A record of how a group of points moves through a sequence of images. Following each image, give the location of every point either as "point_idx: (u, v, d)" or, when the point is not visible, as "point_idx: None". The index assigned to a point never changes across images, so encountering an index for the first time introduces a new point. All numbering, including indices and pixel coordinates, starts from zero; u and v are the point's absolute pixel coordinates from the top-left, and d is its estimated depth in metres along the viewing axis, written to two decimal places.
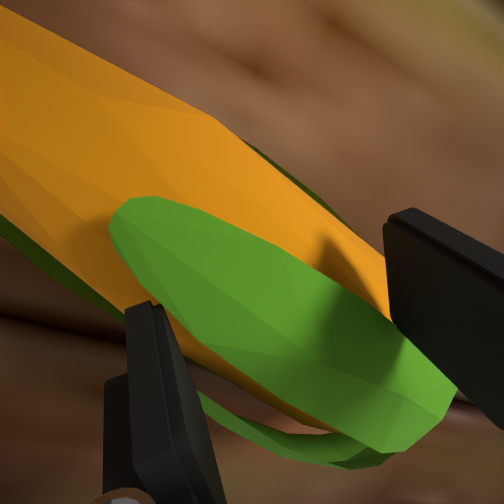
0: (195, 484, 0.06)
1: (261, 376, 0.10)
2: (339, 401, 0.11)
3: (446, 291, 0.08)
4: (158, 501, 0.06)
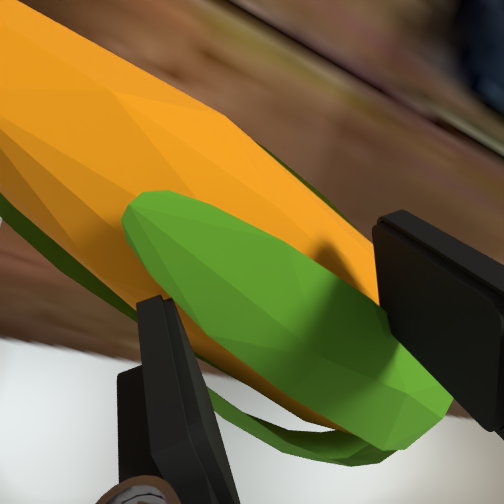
0: (210, 473, 0.06)
1: (266, 370, 0.10)
2: (342, 397, 0.11)
3: (433, 293, 0.08)
4: (174, 489, 0.06)
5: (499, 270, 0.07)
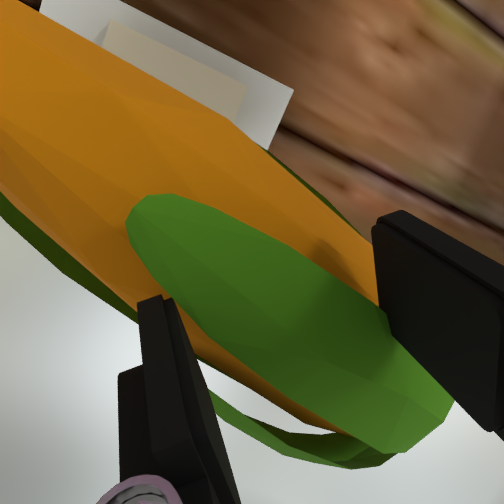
0: (211, 472, 0.06)
1: (268, 373, 0.10)
2: (343, 400, 0.11)
3: (432, 293, 0.08)
4: (175, 489, 0.06)
5: (498, 270, 0.07)
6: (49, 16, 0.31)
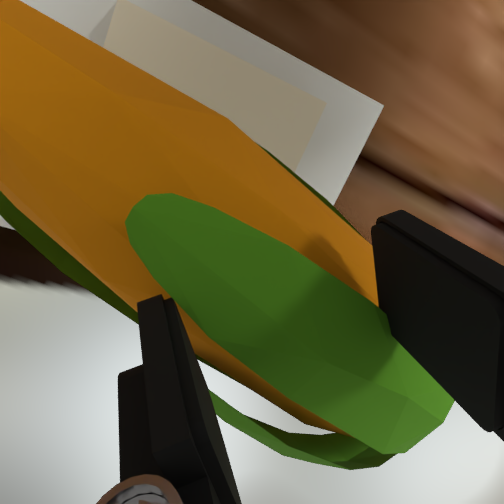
0: (211, 472, 0.06)
1: (268, 373, 0.10)
2: (343, 401, 0.11)
3: (432, 294, 0.08)
4: (176, 488, 0.06)
5: (498, 270, 0.07)
6: None
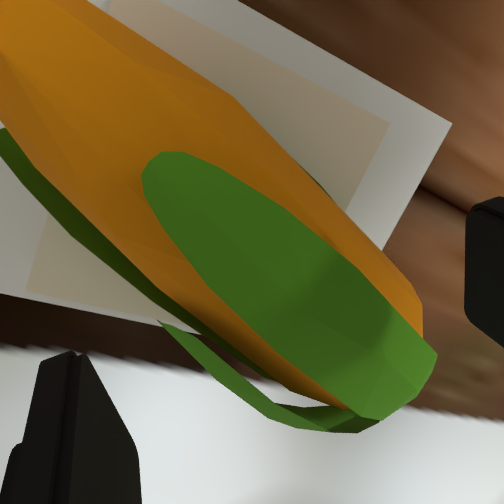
0: None
1: (260, 326, 0.11)
2: (327, 358, 0.12)
3: None
4: None
5: None
6: None
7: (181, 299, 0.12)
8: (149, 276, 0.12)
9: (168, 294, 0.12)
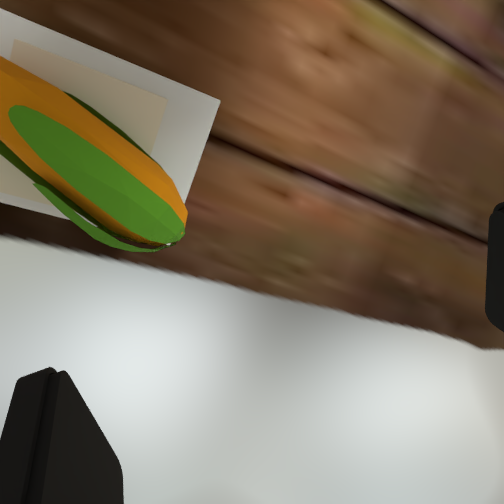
0: None
1: (65, 176, 0.28)
2: (100, 194, 0.28)
3: None
4: None
5: None
6: None
7: (42, 174, 0.29)
8: (26, 163, 0.29)
9: (36, 172, 0.29)
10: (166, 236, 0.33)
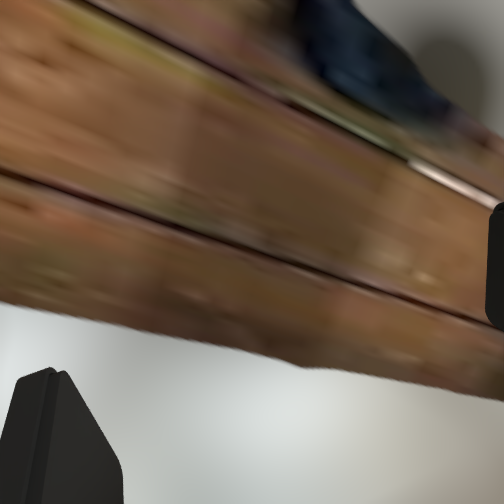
0: None
1: None
2: None
3: None
4: None
5: None
6: None
7: None
8: None
9: None
10: None
